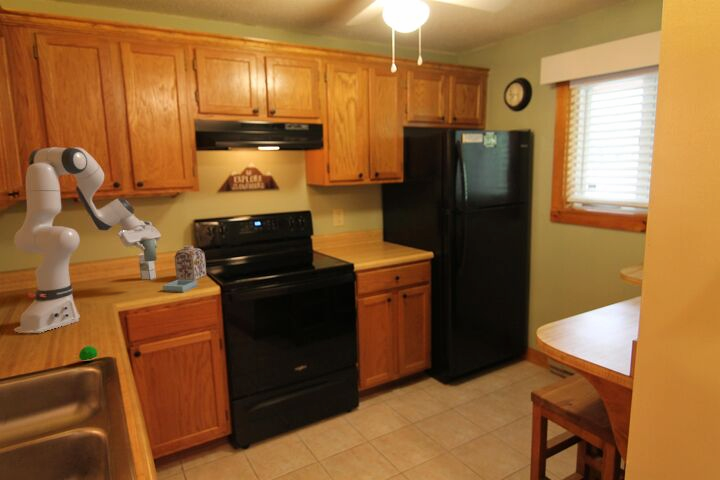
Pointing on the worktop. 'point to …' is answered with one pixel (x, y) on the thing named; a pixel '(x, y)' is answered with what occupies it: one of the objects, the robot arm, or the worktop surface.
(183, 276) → the decorative jar
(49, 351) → the worktop surface
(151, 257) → the tea tin
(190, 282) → the dish
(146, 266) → the syrup box
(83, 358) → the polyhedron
